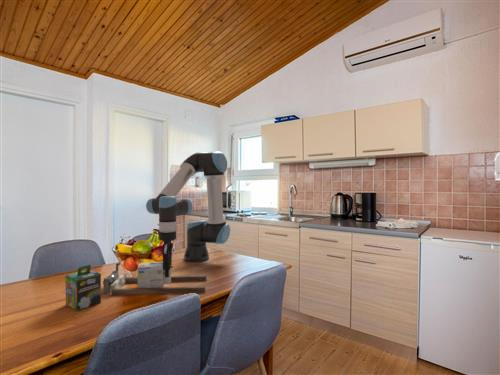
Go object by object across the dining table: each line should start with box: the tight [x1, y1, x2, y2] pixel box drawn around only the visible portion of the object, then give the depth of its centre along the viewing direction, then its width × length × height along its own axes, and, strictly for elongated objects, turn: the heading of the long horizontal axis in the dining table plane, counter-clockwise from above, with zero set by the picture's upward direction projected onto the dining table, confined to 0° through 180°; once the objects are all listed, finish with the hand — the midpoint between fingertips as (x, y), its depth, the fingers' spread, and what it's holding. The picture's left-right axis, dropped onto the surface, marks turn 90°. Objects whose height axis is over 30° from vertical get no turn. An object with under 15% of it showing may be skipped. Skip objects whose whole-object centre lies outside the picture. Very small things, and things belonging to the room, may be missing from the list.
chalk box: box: [64, 264, 102, 312], centre depth 109 cm, size 9×9×15 cm
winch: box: [102, 262, 121, 294], centre depth 128 cm, size 16×4×9 cm, turn 6°
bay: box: [109, 272, 207, 296], centre depth 128 cm, size 16×38×4 cm, turn 96°
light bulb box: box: [136, 261, 165, 288], centre depth 126 cm, size 11×7×11 cm, turn 104°
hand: (167, 283), depth 129 cm, fingers closed
